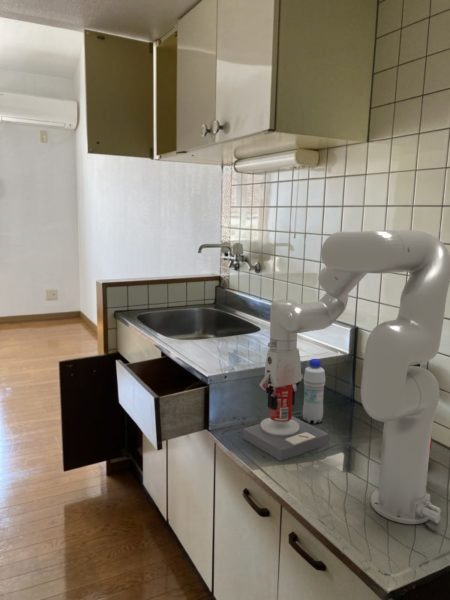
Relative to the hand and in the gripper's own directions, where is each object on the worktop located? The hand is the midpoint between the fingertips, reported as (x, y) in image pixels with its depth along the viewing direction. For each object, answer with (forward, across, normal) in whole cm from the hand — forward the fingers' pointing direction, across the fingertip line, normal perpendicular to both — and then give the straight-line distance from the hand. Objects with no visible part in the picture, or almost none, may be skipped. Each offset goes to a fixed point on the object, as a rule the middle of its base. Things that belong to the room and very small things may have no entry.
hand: (281, 405), depth 136 cm
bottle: (+10, +17, +4) cm, 20 cm away
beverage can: (+5, 0, 0) cm, 5 cm away
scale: (+10, 0, -2) cm, 10 cm away
